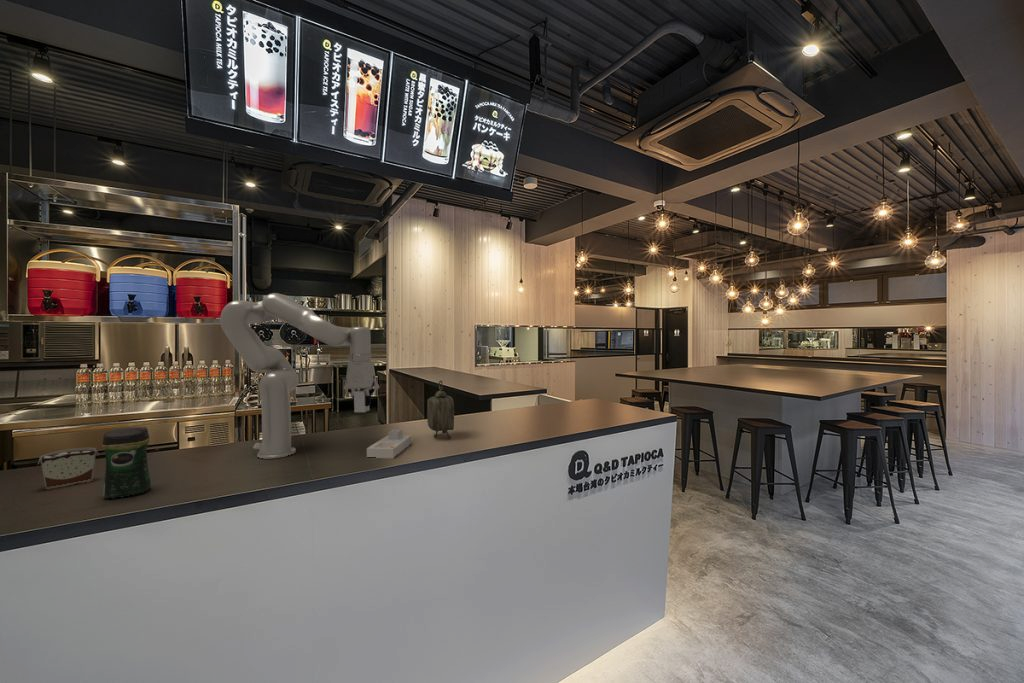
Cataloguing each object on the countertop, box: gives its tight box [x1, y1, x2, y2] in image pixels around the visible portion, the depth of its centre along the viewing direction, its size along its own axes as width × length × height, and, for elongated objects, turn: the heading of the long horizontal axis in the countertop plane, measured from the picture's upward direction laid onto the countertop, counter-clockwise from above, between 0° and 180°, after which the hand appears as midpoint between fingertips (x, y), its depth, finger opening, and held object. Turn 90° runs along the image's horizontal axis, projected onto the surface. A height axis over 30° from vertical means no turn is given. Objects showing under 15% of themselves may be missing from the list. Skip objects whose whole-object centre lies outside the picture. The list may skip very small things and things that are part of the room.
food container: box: [37, 447, 99, 487], centre depth 124 cm, size 12×6×10 cm, turn 141°
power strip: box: [366, 428, 412, 459], centre depth 159 cm, size 10×20×6 cm, turn 175°
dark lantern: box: [426, 380, 455, 440], centre depth 180 cm, size 14×9×25 cm, turn 22°
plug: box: [353, 388, 371, 413], centre depth 159 cm, size 4×5×10 cm
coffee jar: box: [101, 426, 152, 499], centre depth 116 cm, size 10×8×19 cm
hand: (362, 405), depth 159 cm, fingers closed on plug, 4 cm apart
